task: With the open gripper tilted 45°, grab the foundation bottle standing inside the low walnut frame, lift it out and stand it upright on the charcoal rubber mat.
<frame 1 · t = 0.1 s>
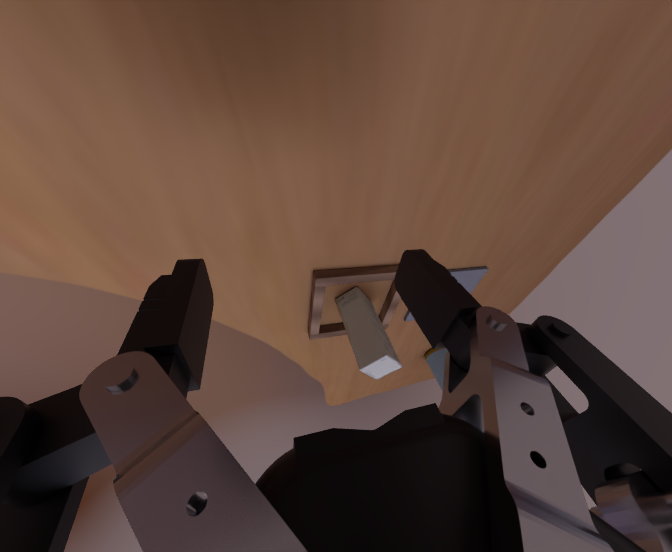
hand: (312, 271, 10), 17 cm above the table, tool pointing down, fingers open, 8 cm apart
skincare box: (354, 299, 41), resting in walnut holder
charcoal mat: (442, 294, 46), on the table
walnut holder: (354, 300, 41), on the table
bottle: (435, 350, 66), on the table
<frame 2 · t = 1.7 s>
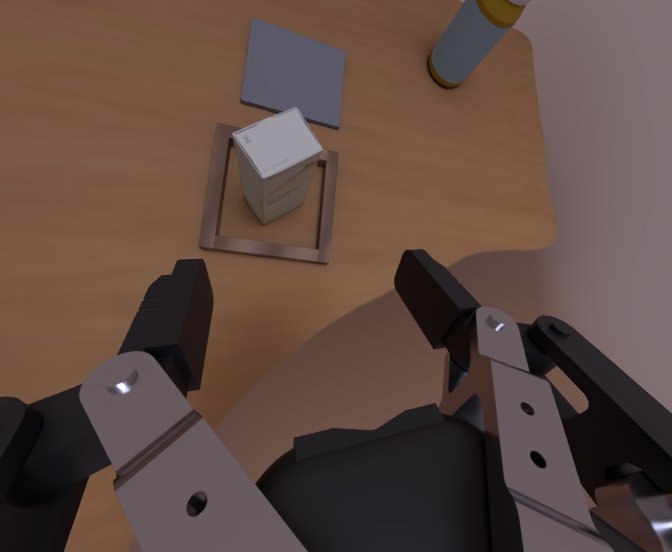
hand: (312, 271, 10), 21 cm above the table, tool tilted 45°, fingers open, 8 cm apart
skincare box: (274, 200, 32), resting in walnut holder
charcoal mat: (296, 77, 34), on the table
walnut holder: (274, 200, 31), on the table
bottle: (443, 71, 41), on the table
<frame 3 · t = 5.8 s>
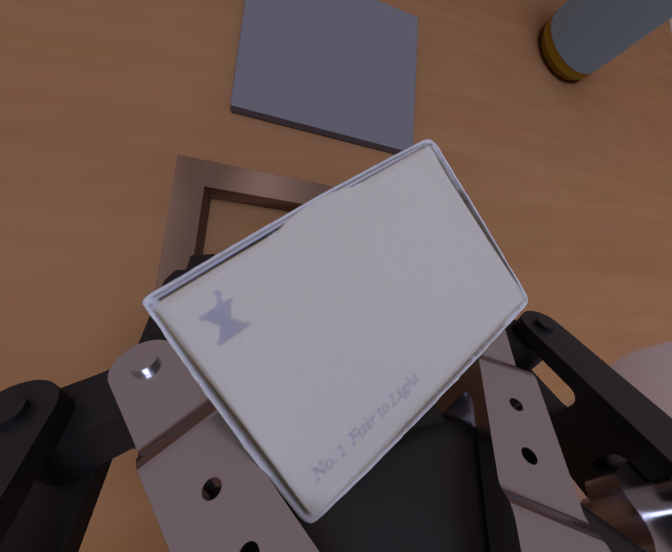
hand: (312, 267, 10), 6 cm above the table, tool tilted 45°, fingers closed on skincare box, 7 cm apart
skincare box: (298, 302, 16), resting in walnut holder, touching gripper
charcoal mat: (334, 63, 18), on the table
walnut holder: (298, 302, 16), on the table
bottle: (560, 55, 26), on the table
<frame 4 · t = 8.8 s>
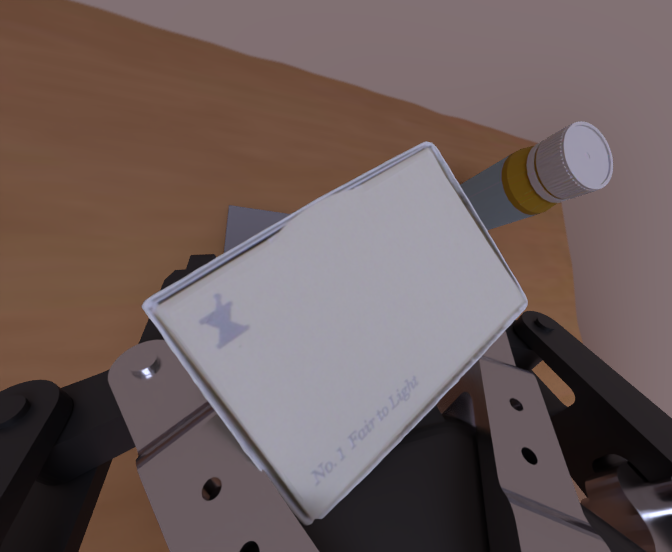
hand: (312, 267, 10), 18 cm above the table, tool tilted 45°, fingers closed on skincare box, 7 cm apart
skincare box: (298, 303, 16), point 12 cm above the table, touching gripper
charcoal mat: (285, 266, 28), on the table
bottle: (457, 214, 36), on the table
when the fingers open (8 cm above the table, at t = 12.3 s): skincare box drops 1 cm, resting on charcoal mat.
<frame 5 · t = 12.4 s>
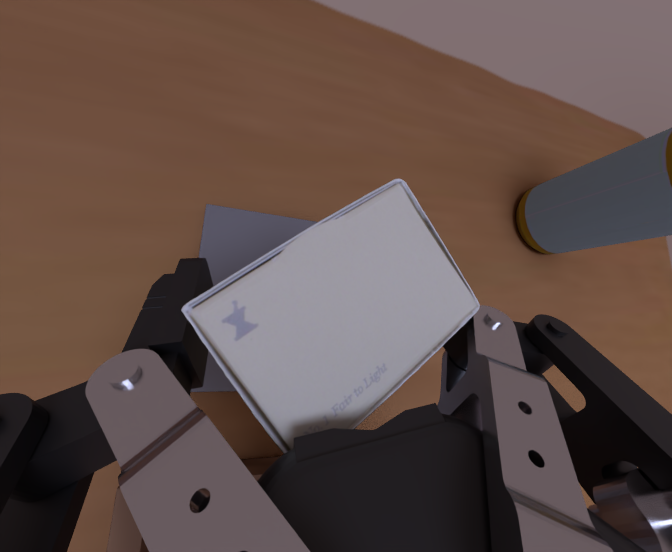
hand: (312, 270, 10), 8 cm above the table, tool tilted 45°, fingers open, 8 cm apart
skincare box: (297, 304, 17), resting on charcoal mat
charcoal mat: (294, 301, 18), on the table
bottle: (536, 222, 25), on the table
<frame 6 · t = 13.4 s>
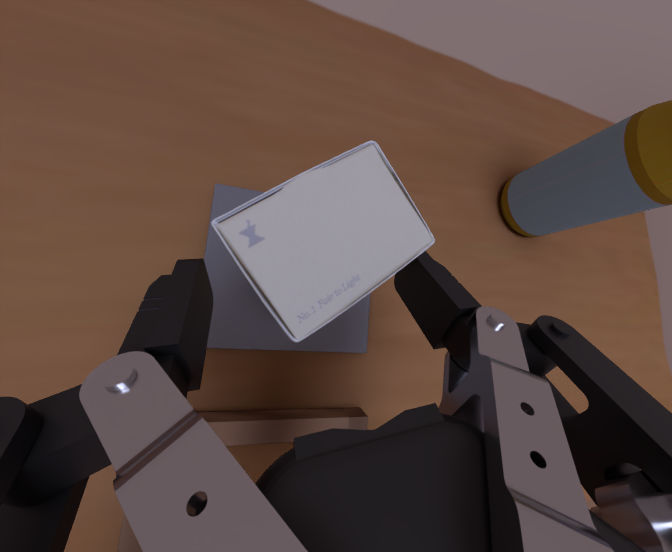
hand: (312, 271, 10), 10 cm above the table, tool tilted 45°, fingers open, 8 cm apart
skincare box: (296, 275, 19), resting on charcoal mat, touching gripper
charcoal mat: (293, 272, 20), on the table
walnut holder: (254, 521, 17), on the table
bottle: (520, 208, 27), on the table
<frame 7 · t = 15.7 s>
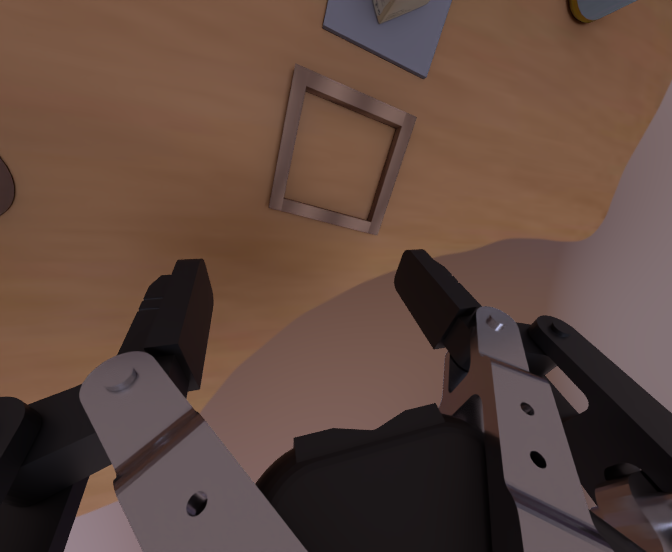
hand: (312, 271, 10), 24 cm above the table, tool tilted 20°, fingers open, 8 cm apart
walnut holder: (339, 163, 31), on the table
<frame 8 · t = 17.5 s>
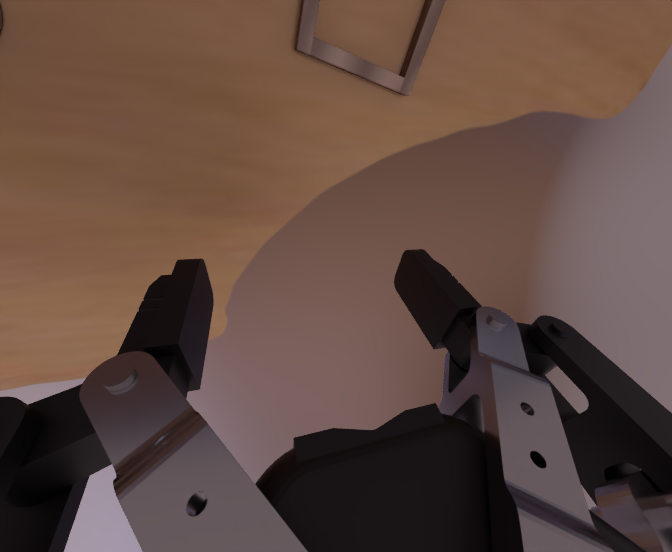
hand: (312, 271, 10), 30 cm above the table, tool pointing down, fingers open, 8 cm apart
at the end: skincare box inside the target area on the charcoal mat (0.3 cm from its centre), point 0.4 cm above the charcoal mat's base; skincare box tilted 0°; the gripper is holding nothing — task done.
